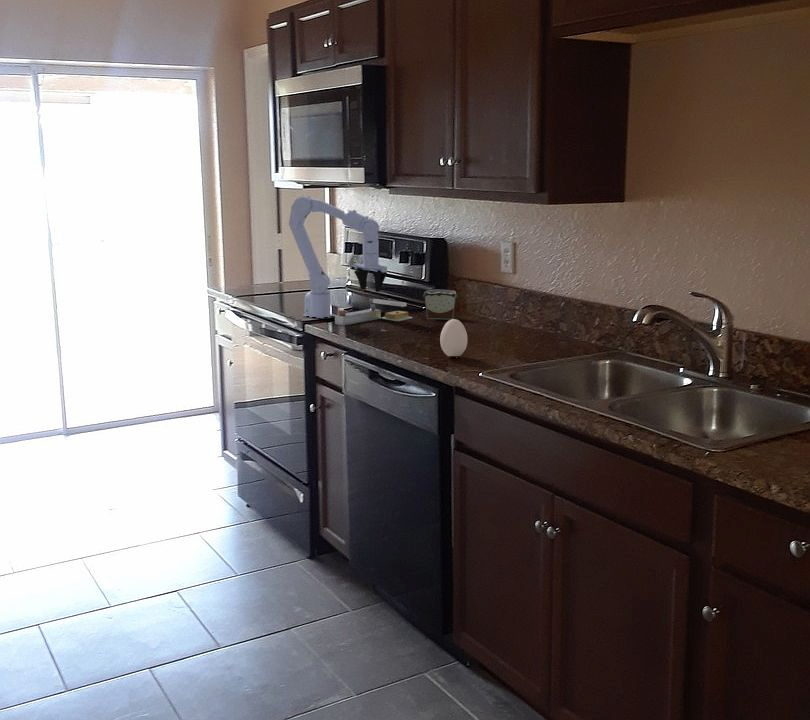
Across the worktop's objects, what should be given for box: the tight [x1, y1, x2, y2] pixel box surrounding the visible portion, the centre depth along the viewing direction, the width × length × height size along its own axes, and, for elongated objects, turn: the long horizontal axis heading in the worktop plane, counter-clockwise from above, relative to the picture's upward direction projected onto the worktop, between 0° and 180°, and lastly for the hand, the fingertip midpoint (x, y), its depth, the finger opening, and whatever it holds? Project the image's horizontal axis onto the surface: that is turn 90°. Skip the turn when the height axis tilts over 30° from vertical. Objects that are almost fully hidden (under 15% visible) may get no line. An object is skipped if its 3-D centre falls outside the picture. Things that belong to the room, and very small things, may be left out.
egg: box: [439, 318, 468, 357], centre depth 264 cm, size 8×8×11 cm
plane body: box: [334, 302, 382, 327], centre depth 323 cm, size 4×19×6 cm, turn 138°
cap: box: [384, 310, 409, 320], centre depth 328 cm, size 5×7×2 cm
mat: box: [381, 316, 413, 322], centre depth 329 cm, size 8×8×1 cm
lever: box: [368, 298, 407, 308], centre depth 323 cm, size 2×16×1 cm, turn 51°
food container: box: [422, 289, 458, 320], centre depth 330 cm, size 12×6×10 cm, turn 84°
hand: (370, 290), depth 330 cm, fingers open, 7 cm apart
